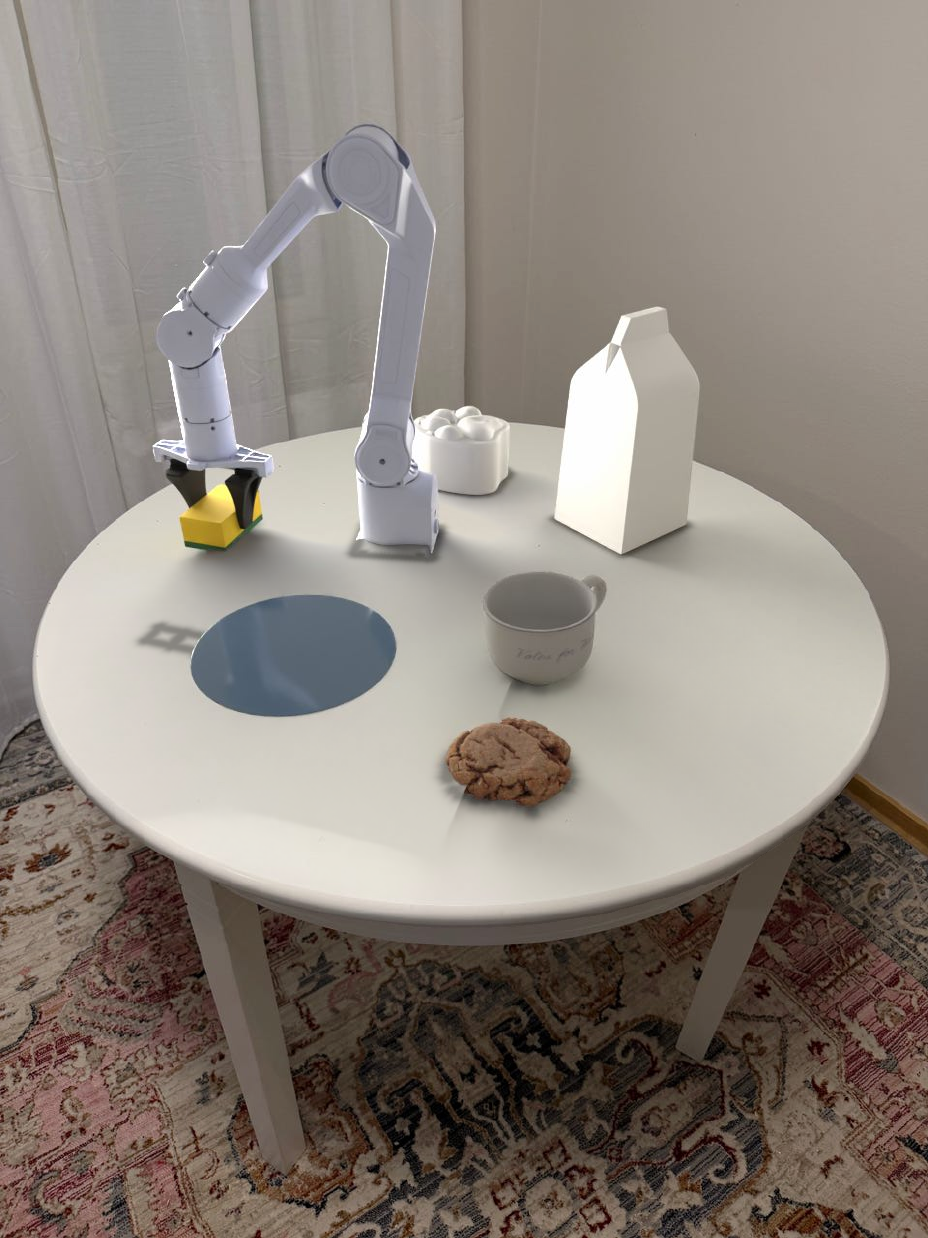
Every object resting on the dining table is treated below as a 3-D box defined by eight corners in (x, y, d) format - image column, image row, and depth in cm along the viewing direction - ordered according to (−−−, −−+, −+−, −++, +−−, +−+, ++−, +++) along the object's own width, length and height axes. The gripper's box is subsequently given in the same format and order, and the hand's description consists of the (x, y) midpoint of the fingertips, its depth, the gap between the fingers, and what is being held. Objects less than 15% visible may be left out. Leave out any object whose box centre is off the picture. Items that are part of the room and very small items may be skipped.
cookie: (430, 748, 77) (429, 722, 75) (539, 720, 80) (541, 694, 78) (471, 829, 69) (471, 803, 68) (591, 794, 72) (594, 768, 71)
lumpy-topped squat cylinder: (488, 498, 116) (490, 437, 111) (399, 482, 120) (397, 422, 115) (514, 467, 124) (516, 409, 119) (429, 453, 128) (428, 396, 123)
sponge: (263, 519, 110) (258, 490, 107) (226, 553, 103) (221, 523, 100) (223, 512, 111) (219, 483, 109) (184, 546, 104) (178, 516, 102)
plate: (411, 611, 95) (411, 600, 94) (376, 736, 78) (375, 724, 77) (231, 599, 96) (229, 588, 96) (160, 719, 80) (157, 707, 79)
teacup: (516, 712, 81) (519, 642, 76) (462, 650, 89) (462, 583, 84) (638, 670, 86) (649, 602, 82) (577, 614, 94) (583, 549, 90)
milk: (621, 554, 105) (647, 334, 90) (554, 518, 112) (568, 310, 97) (686, 524, 111) (721, 314, 96) (619, 492, 118) (641, 292, 103)
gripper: (128, 419, 97) (152, 527, 105) (245, 435, 93) (261, 546, 101) (164, 397, 103) (185, 502, 110) (276, 411, 99) (289, 518, 107)
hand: (223, 521), depth 106 cm, fingers closed on sponge, 5 cm apart
